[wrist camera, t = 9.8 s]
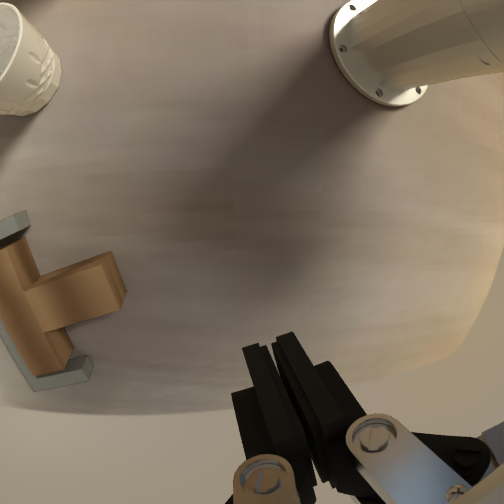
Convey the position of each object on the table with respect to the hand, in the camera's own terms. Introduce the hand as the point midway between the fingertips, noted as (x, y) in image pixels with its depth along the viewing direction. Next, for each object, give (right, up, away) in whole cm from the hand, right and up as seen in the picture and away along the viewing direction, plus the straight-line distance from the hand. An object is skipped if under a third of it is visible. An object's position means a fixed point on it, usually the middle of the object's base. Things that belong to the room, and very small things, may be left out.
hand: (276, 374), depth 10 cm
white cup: (-21, +19, +11) cm, 30 cm away
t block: (-18, 0, +16) cm, 25 cm away
